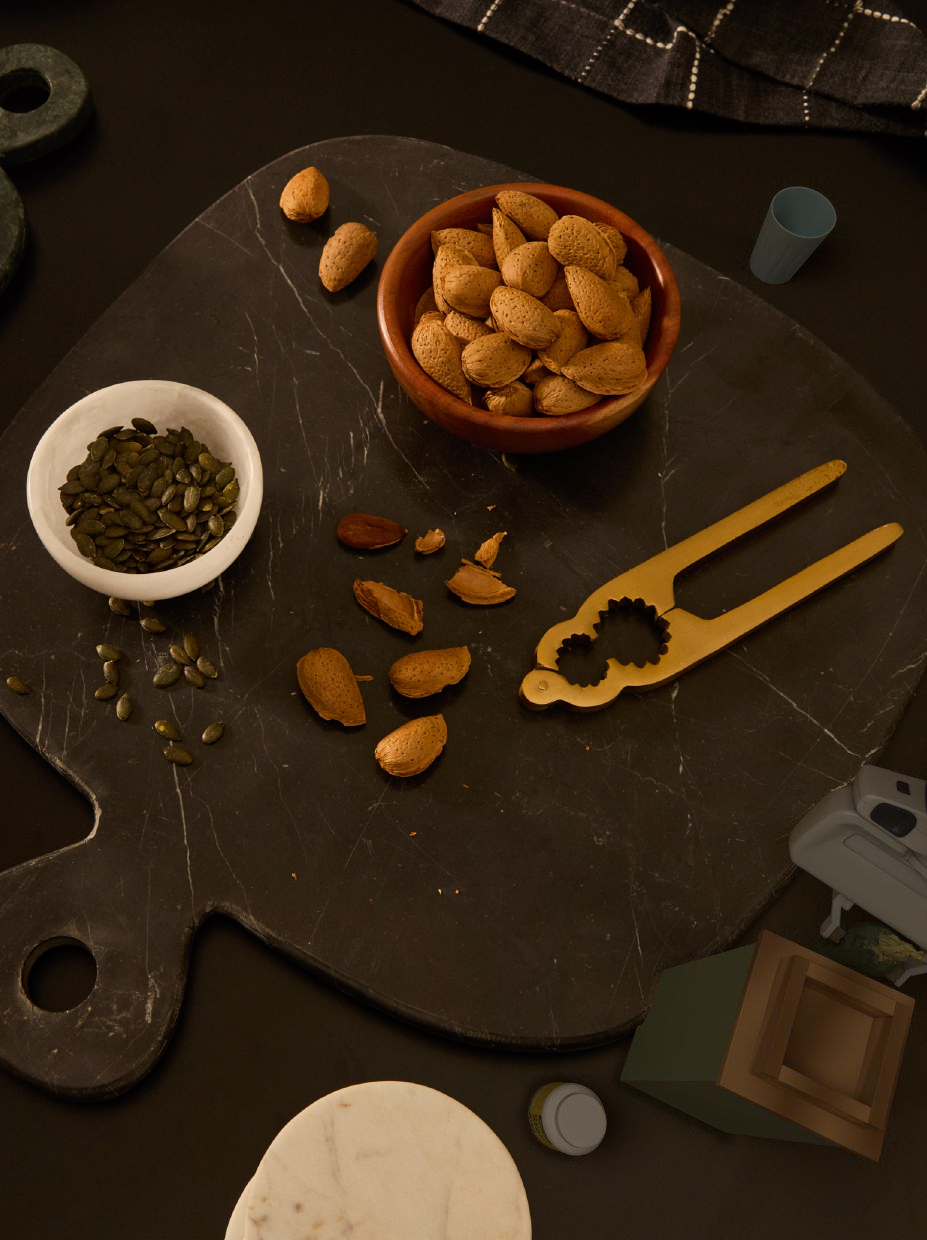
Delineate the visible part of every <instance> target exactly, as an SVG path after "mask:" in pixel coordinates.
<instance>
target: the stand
mask: <svg viewBox="0 0 927 1240" xmlns="http://www.w3.org/2000/svg"><path fill="white" fill-rule="evenodd" d="M756 943H757V942H754V943H751V944H747V945H744V946H739V947H737V948H733V949H729V950H726V951H723V952H720V953H716V954H713V955H709V956H706V957H701V958H699V959H696V960H692V961H689V962H685V963H681V964H679V965H676V966H672V967H668V968H665V969H662V970H663V972H662V976H661V978H660V981H659V985H658V987H657V990H656V994H655V997H654V1000H653V1003H652V1007H651V1009H650V1011H649V1013H648V1015H647V1017H646V1019H645V1021H644V1023H643V1024H642V1025H641V1024H640V1025H641V1026H640V1025H639V1026H637V1025H636V1029H635V1032H634V1035H633V1037H632V1041H631V1043H630V1046H629V1050H628V1053H627V1056H626V1060H625V1061H624V1062H625V1063H624V1065H623V1069H622V1072H621V1075H620V1078H619V1081H620V1082H622V1083H625V1084H627V1085H629V1086H630V1087H632V1088H634V1089H636V1090H638V1091H640V1092H642V1093H644V1094H646V1095H648V1096H650V1097H652V1098H655V1099H656V1100H658V1101H661V1102H662V1103H664V1104H666V1105H669V1106H670V1107H672V1108H675V1109H677V1110H679V1111H680V1112H683V1113H684V1114H686V1115H688V1116H691V1117H692V1118H694V1119H697V1120H699V1121H701V1122H703V1123H704V1124H707V1125H709V1126H710V1127H713V1128H715V1129H717V1130H719V1131H721V1132H723V1133H724V1134H732V1135H740V1136H748V1137H757V1138H764V1139H770V1140H771V1139H772V1140H780V1141H788V1142H795V1143H803V1144H810V1145H818V1146H826V1147H835V1148H841V1147H840V1146H838V1145H836V1144H834V1143H832V1142H830V1141H828V1140H826V1139H824V1138H822V1137H820V1136H818V1135H816V1134H814V1133H812V1132H810V1131H808V1130H806V1129H804V1128H802V1127H800V1126H798V1125H796V1124H794V1123H791V1122H789V1121H787V1120H785V1119H783V1118H781V1117H779V1116H777V1115H775V1114H773V1113H771V1112H769V1111H767V1110H765V1109H763V1108H761V1107H759V1106H757V1105H755V1104H753V1103H751V1102H749V1101H747V1100H745V1099H743V1098H741V1097H739V1096H737V1095H735V1094H732V1093H730V1092H728V1091H726V1090H724V1089H722V1088H720V1087H718V1086H716V1085H715V1083H716V1080H717V1077H718V1073H719V1070H720V1066H721V1063H722V1059H723V1056H724V1053H725V1049H726V1046H727V1042H728V1039H729V1035H730V1032H731V1029H732V1025H733V1022H734V1018H735V1015H736V1011H737V1008H738V1005H739V1001H740V998H741V994H742V991H743V987H744V984H745V981H746V977H747V974H748V970H749V967H750V963H751V960H752V957H753V953H754V950H755V946H756Z"/></svg>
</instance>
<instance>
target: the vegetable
mask: <svg viewBox="0 0 927 1240" xmlns="http://www.w3.org/2000/svg"><path fill="white" fill-rule="evenodd" d="M847 929H848V933H847V934H846V936H845V937H844V938H842V939H840V943H839V944H838V945H835V944H833V943H832V942H830V941H829V940H827V939H826V938H824V937H822V936H821V935H819V936H817V937H816V938H814V939H812V940H811V941H810V942H809V943H807V944H806V945H805V946H804V947H805V948H807V949H809V950H811V951H813V952H815V953H818V954H820V955H822V956H824V957H826V958H828V959H830V960H833V961H835V962H837V963H839V964H841V965H843V966H845V967H847V968H850V969H852V970H854V971H856V972H858V973H860V974H862V975H865V976H868V977H882V976H886V975H889V974H891V973H893V972H894V971H895V970H897V969H898V967H899V966H900V965H901V963H902V961H905V960H907V958H908V957H909V956H912V957H913V958H914V959H917V961H918V962H919V963H922V962H923V959H926V958H925V957H924V953H923V951H921V950H919V951H918V950H916V949H915V948H914V946H913V945H912V943H908V942H905V941H904V940H901V938H900V936H899V934H897V932H896V931H895V930H894V929H893V928H891V927H890V926H888V925H886V924H883V923H880V922H876V921H861V922H860V921H859V922H856V923H852V924H848V926H847Z"/></svg>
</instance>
